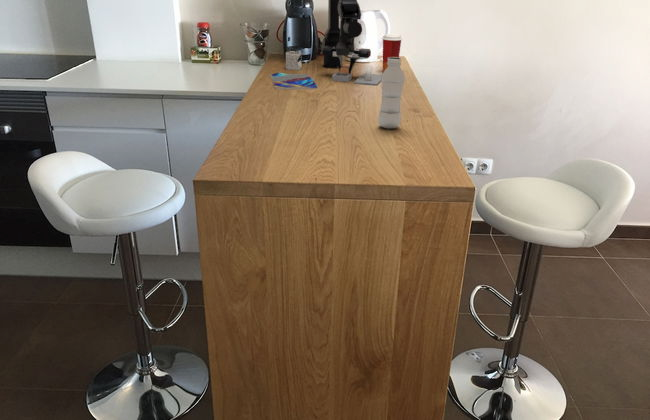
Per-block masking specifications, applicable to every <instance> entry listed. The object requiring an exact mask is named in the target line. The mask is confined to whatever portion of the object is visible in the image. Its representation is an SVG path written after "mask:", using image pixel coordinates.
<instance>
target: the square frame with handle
mask: <svg viewBox="0 0 650 420" xmlns="http://www.w3.org/2000/svg"><path fill="white" fill-rule="evenodd" d="M349 67H350V63H349V64H348V63H345V64H342V67H341V68H340V71H339V72H334V73H333V74H332V76H331V81H333V82H345V83H349V82H350V81H351V80H352V79H353V69H354V68H353V69H352V71H351V74H349Z"/></svg>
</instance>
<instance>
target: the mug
mask: <svg viewBox="0 0 650 420" xmlns="http://www.w3.org/2000/svg"><path fill="white" fill-rule="evenodd" d="M301 60H302V53H301V52H295V51H290V50H289V51H286V52H285V70H288V71H300V70H302V61H301Z"/></svg>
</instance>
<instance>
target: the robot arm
mask: <svg viewBox="0 0 650 420" xmlns="http://www.w3.org/2000/svg"><path fill="white" fill-rule="evenodd" d="M327 2H328V4H327V5H328V9H327V10H328V14H327V16H328V17H327V18H328V19H327V22H328V23H327V26H328V27H327V28H326V31H325V32H324V38H323V39H322V43H321V45H320V46H321V47H320V48H321V55H323V65H322V67H324V68H333V69H334V68H338V71H339V72H340V68H341V67H342V66H343V56H344V57H348V56H349V55H350V56H351V57H350V58H349V60H350V62H349V65H350V67H349V74H351V71H352V69H354V66H355V64H356V62H357V61H358V60H359V59H360V58H361V59H368V58H370V57H371V54H372V52H371V49H370V48H360V49H355V48H356V47H355V38H358V37H360V35H361V34H362V32H363V28H362V24H361V23H360V22H359V21H358V20H361V19H362V18H361V17H362V11H361V7H360V4H359V2H358V0H327Z"/></svg>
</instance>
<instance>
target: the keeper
mask: <svg viewBox="0 0 650 420" xmlns="http://www.w3.org/2000/svg"><path fill="white" fill-rule="evenodd" d="M364 72H365V73H364ZM364 72H363V73H362V74H361V75H360V76H359V77H358V78H357V79H356V80H354V81H353V84H357V85H366V86H376V87H377V86H378V85H379V84H380V83H382V80H381V77H382V74H377V73H373V66H365V71H364Z"/></svg>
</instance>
